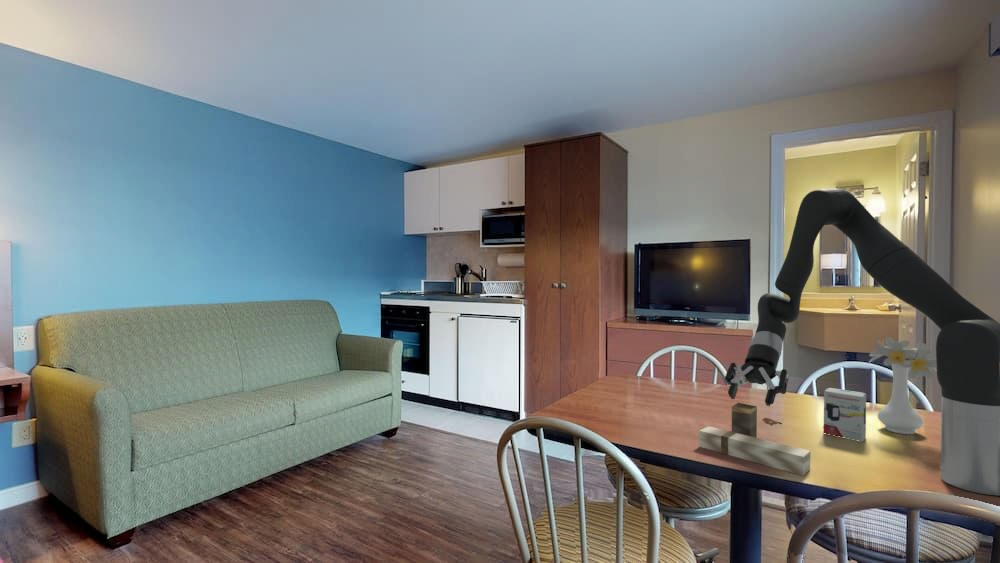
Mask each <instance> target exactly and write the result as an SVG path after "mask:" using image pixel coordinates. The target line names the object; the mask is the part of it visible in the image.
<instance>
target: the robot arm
mask: <svg viewBox="0 0 1000 563" xmlns="http://www.w3.org/2000/svg"><path fill="white" fill-rule="evenodd" d="M794 223H795V224H794V227H793V232H792V235H791V239H790V243H789V248H788V250H787V253H786V257H785V258H784V261H783V264H782V265H781V268H780V270H779V272H778V274H777V276H776V279H775V281H774V287H775V288H776V289H777V290H778V291H780V292H781V293H783V294H785V295H787V296H788V297H789V298H788V297H785V296H781V295H778V294H777V293H776V294H775V293H772V292H768V293H764V294H762V295H761V297H760V298H759V299H758V302H757V316H758V318H757V319H758V322H757V326H756V330H755V333H754V336H753V337H752V340H751V342H750V345H749V347H748V351H747V353H746V356H745V360H744V363H743V364H742V365H737V364H736V363H735V362H731V363H730V365H729V367H728V369H727V371H726V374H725V376H724V380H725V382H726V384H727V385H728V386H729V388H728V390H727V394H728V396H729V397H730V399H731V400H735V398H736V397H737V396H736V395H737V393H738V389H739V387H741V386H742V385H747V383H750V384H757V385H762V386H763V385H766V386H767V388H768V389H767V391H766V396H765V400H764V403H765V405H766V406H768V407H770V406H771V405H773V404H774V403H775V399H776V395H777V394H782V395H785V394H787V387H788V383H789V378H790V377H789V373H788V371H787V369H784V368H783V369H781V370H777V368H778V365H779V361H780V357H781V356H782V350H783V343H784V340H785V336H786V333H787V326H786V324H791V323H793V322H795V321H796V320H797V319H798V318H799V315H800V308H801V298H802V294H803V291H804V289H805V286H806V285H807V282H808V281H809V278H810V276H811V274H812V271H813V268H814V261H815V259H814V258H815V256H814V248H815V243H816V240H817V237H818V235H819V234H820V232H821V231H822V229H823V228H824V226H828V225H829V226H830V225H832V226H834V227H835V228H837V229H838V230H839V231H841V232H842V234H844V235H845V236H846V237H847V238H849V240H851V243H852V244H853V245H854V248H855V250H856V254H857V257H858V261H859V262H860V265H861V267H862V268H863V270H864V271H866V272H867V274H868V275H869V276H871V277H872V279H873V280H875V282H876V283H877V284H878V285H879V286H881V287H882V288H883V289H884V290H885V291H886V292H888V293H890V294H891V295H892V296H894V297H896V298H898V299H899V300H900V301H902V302H904V303H906V304H908V305H909V306H911V307H913V308H914V309H916V310H918V311H919V312H921V313H923V315H925V316H926V317H927V318H929V319H930V320H931V321H932V322H933V323H934V324H935V326H937V327H938V328H939V329H940V331H939V333H938V334H937V337H936V338H937V339H936V342H935V343H936V344H935V345H936V346H935V357H936V363H937V366H936V369H937V371H936V378H937V382H938V383H939V386H940V389H941V408H940V409H941V422H940V425H941V426H940V427H941V430H940V435H941V436H940V479H941V480H942V481H943V482H944V483H946V484H949V485H951V486H953V487H955V488H958V489H961V490H965V491H968V492H972V493H977V494H983V495H989V496H1000V323H999V321H997V320H995V319H994V318H993V317H991V316H990V315H988V314H987V313H985V312H984V311H983V310H981V308H979V307H977V306H976V305H974V304H973V303H972V302H970V301H968V300H967V299H966V298H965V297H963V296H962V295H961V294H960V293H959V292H958V291H957V290H956V289H955V288H954V287H953V286H952V285H951V284H950V283H949V282H948V281H946V279H944V278H943V277H942V276H941V275H940V274H939V273H938V272H936V271H935V269H933V268H932V267H931V266H930V265H928V263H927V262H926V261H925V260H924V259H923V258H921V256H919V255H918V254H917V253H916V252H915V251H914V250H912V249H911V248H910V247H909V246H908V245H906V244H905V243H904V242H903V241H901V240H900V239H899V238H897V236H895V235H894V233H892V232H891V231H890V230H889V229H887V228H886V227H885V226H884V225H883V224H881V223H880V222H879V220H877V219H876V217H874V216H873V215H872V214H871V213H870V212H869V211H868V210H867V209H866V207H865V206H864V205H863V204H862V203H861V202H860V201H859V199H857V197H856V196H855V195H854V194H853V193H851V192H850V191H848V190H846V189H843V188H820V189H814V190H812V191H809V192H808V193H806V195H805V196H804V197H803V198H802V201H801V203H800V205H799V208H798V211H797V215H796V220H795V222H794ZM740 371H741V372H740ZM739 372H740V373H739ZM775 377H777V378H778V380H779V381H778V385H775V384H774V383H773V379H774V378H775Z"/></svg>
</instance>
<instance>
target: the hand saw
mask: <svg viewBox="0 0 1000 563" xmlns="http://www.w3.org/2000/svg"><path fill="white" fill-rule="evenodd" d="M761 420H762V421H764V422H763V423H765V424H768V425H769V426H774V425H778V424H779V423H780V424H781V425H783V422H781V421H780V422H779V421H777V420H774V419H771V418H769V417H763V418H762V419H761Z"/></svg>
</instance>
